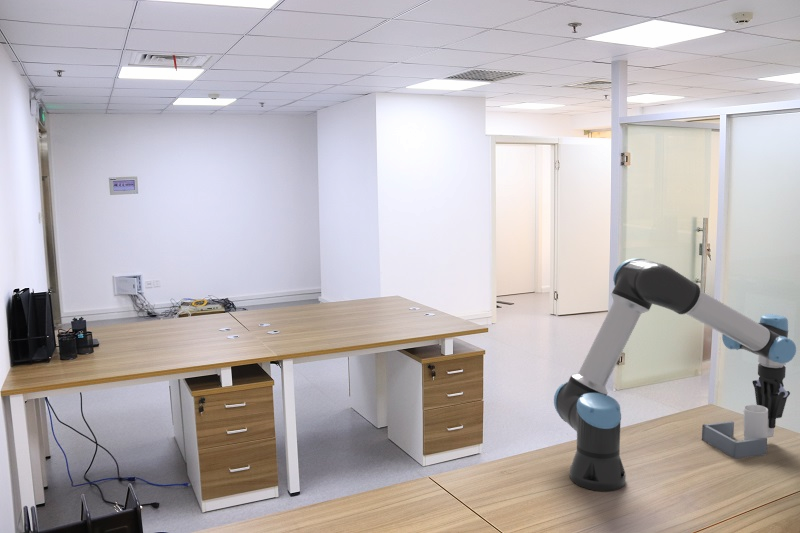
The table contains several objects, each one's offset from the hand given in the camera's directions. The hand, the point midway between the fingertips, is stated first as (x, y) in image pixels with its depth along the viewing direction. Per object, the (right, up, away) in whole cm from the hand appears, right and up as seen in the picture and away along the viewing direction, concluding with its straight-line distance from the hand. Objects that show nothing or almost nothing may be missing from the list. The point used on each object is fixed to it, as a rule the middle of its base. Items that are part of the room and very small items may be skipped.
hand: (768, 436), depth 210 cm
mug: (-4, -2, -1) cm, 5 cm away
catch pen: (-12, -3, -3) cm, 13 cm away
